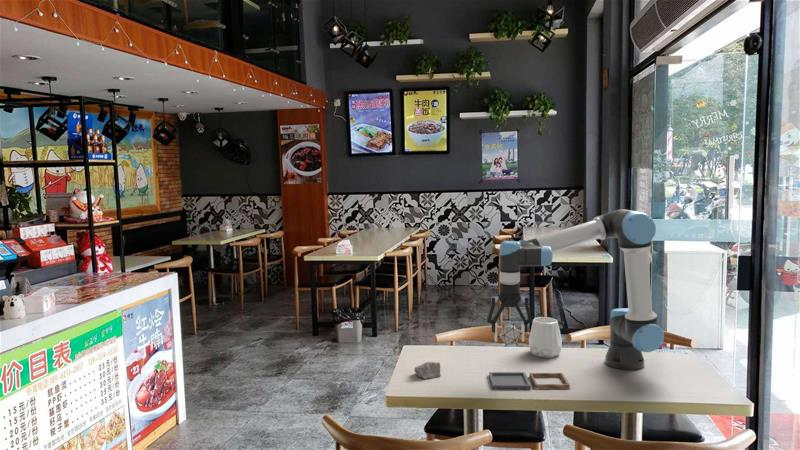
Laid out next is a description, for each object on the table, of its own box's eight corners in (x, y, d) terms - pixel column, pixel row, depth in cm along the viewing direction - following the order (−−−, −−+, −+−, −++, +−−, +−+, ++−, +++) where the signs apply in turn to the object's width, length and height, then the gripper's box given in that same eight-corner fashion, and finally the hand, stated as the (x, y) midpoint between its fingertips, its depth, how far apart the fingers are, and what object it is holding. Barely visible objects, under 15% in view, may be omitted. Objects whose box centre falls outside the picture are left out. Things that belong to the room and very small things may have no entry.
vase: (529, 358, 258) (529, 323, 256) (527, 348, 271) (528, 315, 270) (563, 359, 255) (563, 324, 254) (560, 349, 269) (560, 316, 267)
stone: (437, 371, 244) (437, 357, 243) (442, 378, 236) (442, 364, 235) (413, 373, 242) (413, 359, 241) (418, 380, 234) (417, 366, 234)
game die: (513, 356, 228) (522, 339, 221) (492, 346, 229) (500, 330, 222) (518, 339, 234) (527, 322, 228) (498, 330, 236) (505, 314, 229)
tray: (524, 375, 237) (524, 372, 237) (531, 389, 223) (531, 385, 223) (489, 375, 238) (489, 372, 238) (492, 389, 224) (492, 385, 224)
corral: (562, 376, 236) (562, 372, 236) (569, 388, 223) (569, 384, 223) (529, 376, 236) (529, 372, 236) (535, 388, 224) (535, 384, 224)
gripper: (537, 280, 229) (536, 337, 232) (479, 280, 230) (479, 337, 233) (541, 284, 222) (540, 343, 224) (480, 284, 223) (480, 343, 225)
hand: (509, 340), depth 229 cm, fingers closed on game die, 9 cm apart
